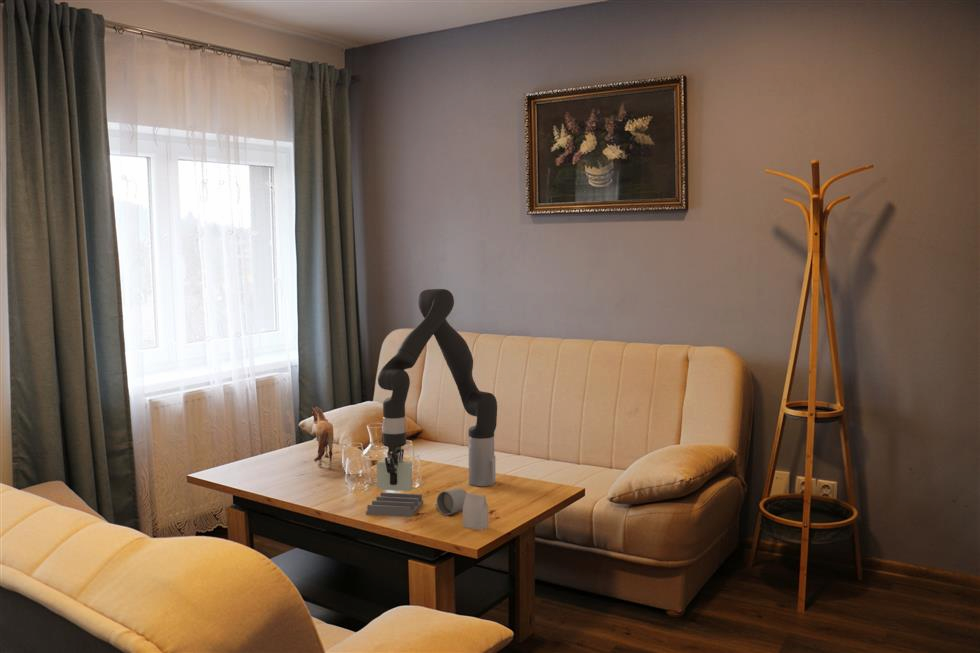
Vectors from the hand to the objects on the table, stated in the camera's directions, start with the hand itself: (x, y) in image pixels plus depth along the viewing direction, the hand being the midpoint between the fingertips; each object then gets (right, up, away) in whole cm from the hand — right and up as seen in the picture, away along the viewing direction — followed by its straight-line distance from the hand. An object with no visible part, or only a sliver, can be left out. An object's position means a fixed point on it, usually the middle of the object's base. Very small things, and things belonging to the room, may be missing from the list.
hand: (394, 483), depth 267 cm
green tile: (0, -2, 0) cm, 2 cm away
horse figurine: (-38, -4, +58) cm, 69 cm away
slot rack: (0, -8, +1) cm, 8 cm away
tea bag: (+26, -10, -17) cm, 33 cm away
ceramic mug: (+18, -9, -2) cm, 20 cm away
